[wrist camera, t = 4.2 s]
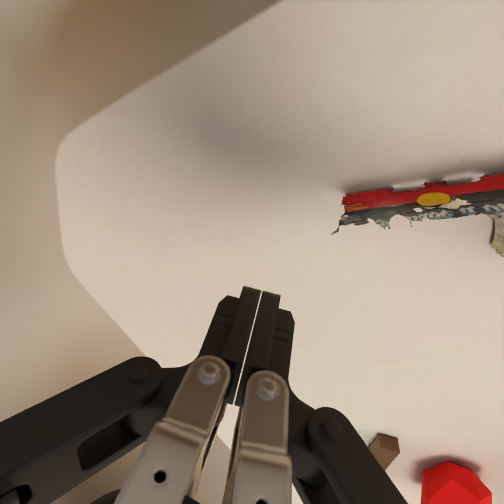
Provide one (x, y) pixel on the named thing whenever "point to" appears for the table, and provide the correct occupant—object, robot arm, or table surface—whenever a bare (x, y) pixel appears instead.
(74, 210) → the table surface
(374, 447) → the walnut slat
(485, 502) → the apple
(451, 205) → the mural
